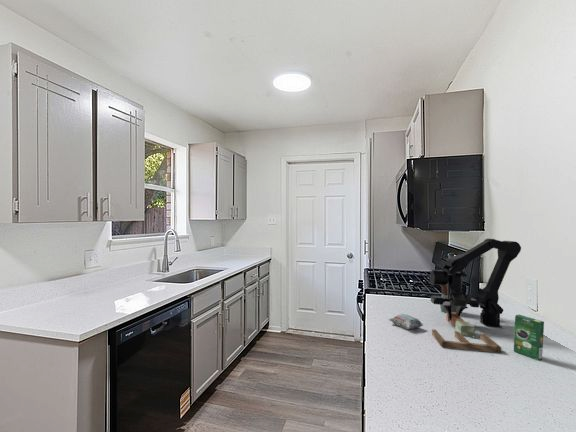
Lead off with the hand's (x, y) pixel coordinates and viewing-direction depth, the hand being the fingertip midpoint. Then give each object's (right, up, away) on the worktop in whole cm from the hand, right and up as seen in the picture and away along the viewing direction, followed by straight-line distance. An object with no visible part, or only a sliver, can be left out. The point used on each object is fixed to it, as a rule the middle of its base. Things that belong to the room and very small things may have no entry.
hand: (453, 320), depth 141 cm
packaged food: (-25, -1, -7) cm, 26 cm away
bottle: (+7, -2, +17) cm, 19 cm away
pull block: (-1, -1, -6) cm, 6 cm away
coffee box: (+8, -1, -33) cm, 34 cm away
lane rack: (-8, -1, -23) cm, 25 cm away
